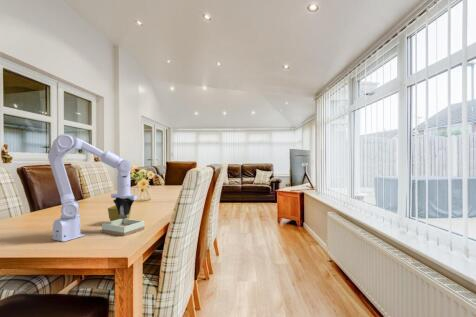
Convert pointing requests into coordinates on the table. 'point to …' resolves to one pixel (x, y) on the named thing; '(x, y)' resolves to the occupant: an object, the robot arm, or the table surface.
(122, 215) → the peg
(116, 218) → the flower pot
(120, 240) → the table surface
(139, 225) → the box
